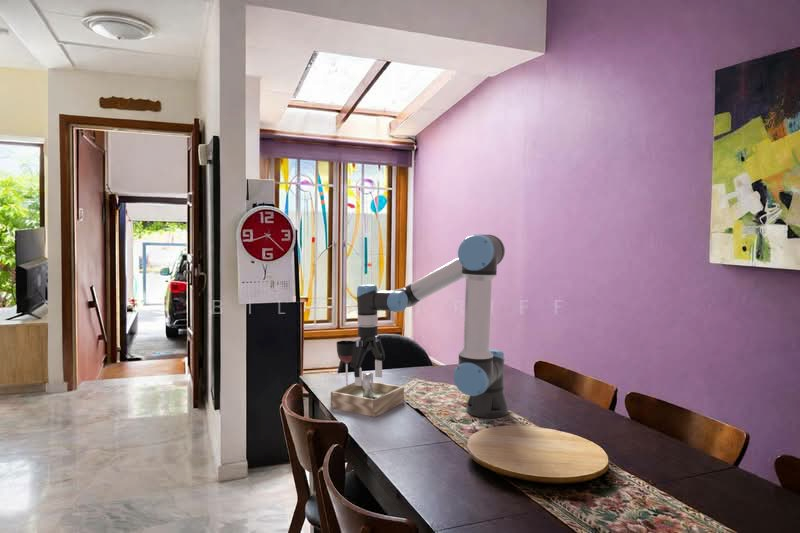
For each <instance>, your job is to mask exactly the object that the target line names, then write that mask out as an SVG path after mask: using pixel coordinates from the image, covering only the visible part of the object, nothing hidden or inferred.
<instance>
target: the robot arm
mask: <svg viewBox="0 0 800 533" xmlns="http://www.w3.org/2000/svg"><path fill="white" fill-rule="evenodd" d="M505 251H506V249H505V245H504V243H503V240H501V239H500V238H499V237H497V236H496V235H493V234H481V233H477V234H473V235H470V236H467V237H466V238H464V239H463V240H462V241H461V243H460V245H459V246H458V250H457V258H455V259H453V260H451V261H449V262H447V263H446V264H444V265H443V266H440V267H438V268H437V269H435V270H434V271H431V272H429V273H428V274H426V275H424V276H422V277H421V278H419V279H416V280H415V281H413V282H412V283H410V284H408V285H405V286H404V287H402V288H398V289H392V290H378V286H377V285H376V284H359V285H358V286H357V288H356V290H357V291H356V300H357V301H356V303H357V304H356V306H357V325H358V327H357V336H358V337H359V338H360V340H354V341H355V348H354V352H353V356H352V360H351V362H350V364H349V367H350V368H352V369H353V373H354V375H353V376H354V382H355V385H357V386H362V380H363V372H362V371H363V370H362V363H363V361H364V358H365V357H366V354H367V353H369V351H371V352H372V354H373V356H374V357H375V359H374V373H375V374H374V377H375V378H383V361H385V358H386V354H385V350H384V347H383V344H382V341H381V340H382V339H381V335H379V327H378V320H379V319H378V311H379V312H380V311H384V312H394V313H396V312H404V311H405V310H406V308H410V307H413V306H415V305H417V304H418V303H419V302H420V301H422V300H424V299H426V298H428V297H430V296H432V295H433V294H436V293H438V292H439V291H441V290H443V289H445V288H446V287H449V286H450V285H452V284H455V283H457V282H458V281H460V280H462V279H464V278H465V296H464V297H465V299H464V324H463V325H464V327H463V328H464V329H463V347H462V349H461V350H460V351H459V352H458V364H457V366H456V367H455V369H454V371H453V381H454V385H455V387H456V388H457V389H458V390H459V391H460V392H461V393H462V394H464V395H466V396H468V398H467V402H466V413H467V414H469V415H471V416H474V417H478V418H483V419H497V418H503V417H505V416H508V414H509V405H508V401H507V398H506V394H505V391H504V390H505V389H504V388H505V386H504V385H505V379H504V377H505V358H504V357H505V354H504V352H503V351H502V350H500V349H495V348H490V332H491V331H490V329H491V305H492V304H491V302H492V301H491V300H492V281H493V279H495V277H496V276H497V271H498V270H497V269H498V265H499V264H500V263H501V262H502V261H503V259H504V257H505V253H506V252H505Z"/></svg>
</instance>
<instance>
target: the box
mask: <svg viewBox="0 0 800 533" xmlns="http://www.w3.org/2000/svg"><path fill="white" fill-rule="evenodd" d="M404 402H405V386H402V385H395V384H390V383H384V382H377V381H373V399H371V398H365V397H363V379H362V386H357V385H355V381H354V382H352V383H349V384H348V385H347V386H346V385H345V386H343V387H340V388H338V389H335V390H332V391H330V408H332V409H334V410H335V409H336V410H340V411H345V412H350V413H355V414H359V415H363V416H369V417H375V418H376V417H378V416H380V415H382V414H384V413H385V412H387V411H389V410H391V409H393V408H395V407H397V406H399V405H401V404H403V403H404Z"/></svg>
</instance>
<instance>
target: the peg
mask: <svg viewBox="0 0 800 533" xmlns="http://www.w3.org/2000/svg"><path fill="white" fill-rule="evenodd" d="M362 380H363V397H365V398H371V399H373V382H374V373H373V372H370V371H369V372H362Z"/></svg>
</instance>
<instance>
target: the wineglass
mask: <svg viewBox="0 0 800 533" xmlns="http://www.w3.org/2000/svg"><path fill="white" fill-rule="evenodd" d="M355 341H356V340H340V341H339V340H338V341H336V352H337V357H338V358H339V359H338V360H340V361H341V362H343V363H344V364H345V386H347V385H349V384H348V383H349V382H348V378H349V377H348V376H349V375H348V371H349V370H348V369H349V367H348V366H349V363H351V360H352V356H353V352H354V348H355Z"/></svg>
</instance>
